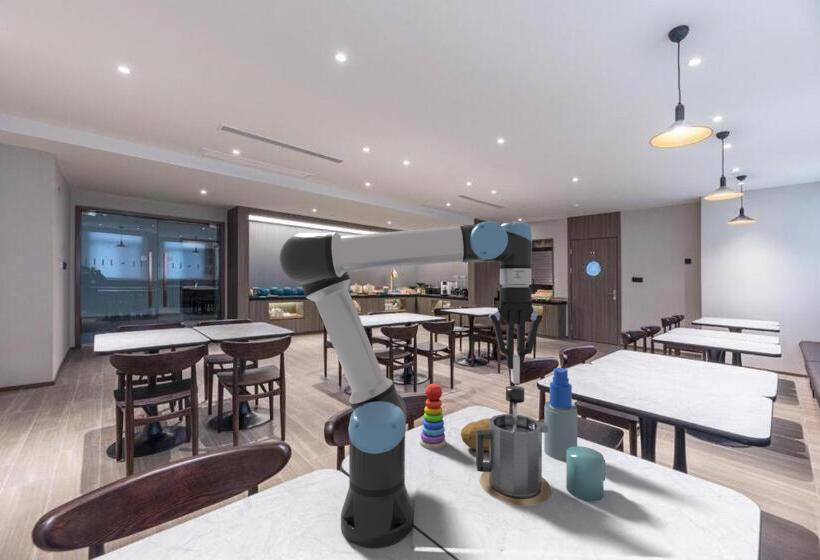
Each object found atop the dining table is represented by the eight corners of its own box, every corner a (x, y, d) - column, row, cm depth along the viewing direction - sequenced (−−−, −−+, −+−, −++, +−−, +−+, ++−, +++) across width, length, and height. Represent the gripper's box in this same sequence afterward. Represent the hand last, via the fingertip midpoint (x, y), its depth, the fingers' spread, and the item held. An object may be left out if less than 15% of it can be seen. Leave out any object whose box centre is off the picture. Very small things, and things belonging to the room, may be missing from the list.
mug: (583, 506, 82) (583, 464, 82) (559, 487, 90) (559, 448, 90) (617, 499, 85) (617, 458, 85) (590, 480, 93) (591, 443, 92)
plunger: (499, 445, 86) (499, 394, 86) (492, 428, 95) (492, 382, 95) (539, 446, 85) (539, 394, 85) (528, 429, 94) (528, 383, 94)
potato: (459, 442, 114) (459, 413, 114) (509, 443, 113) (509, 413, 113) (462, 456, 105) (462, 424, 105) (516, 457, 105) (516, 424, 105)
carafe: (480, 497, 84) (480, 433, 84) (473, 469, 97) (473, 413, 97) (554, 500, 83) (554, 434, 83) (538, 471, 96) (538, 414, 96)
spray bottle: (547, 445, 112) (548, 364, 112) (579, 452, 107) (579, 368, 107) (541, 457, 105) (541, 370, 105) (574, 465, 100) (575, 374, 100)
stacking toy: (447, 451, 108) (447, 388, 108) (420, 451, 108) (420, 388, 108) (444, 439, 116) (445, 380, 116) (419, 439, 116) (419, 380, 116)
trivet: (485, 506, 82) (485, 503, 82) (475, 467, 99) (475, 465, 99) (562, 509, 81) (562, 506, 81) (539, 469, 98) (539, 467, 98)
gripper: (491, 286, 86) (491, 385, 86) (547, 286, 86) (546, 386, 86) (486, 285, 94) (486, 377, 94) (537, 286, 93) (537, 378, 93)
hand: (515, 381), depth 90 cm, fingers closed
